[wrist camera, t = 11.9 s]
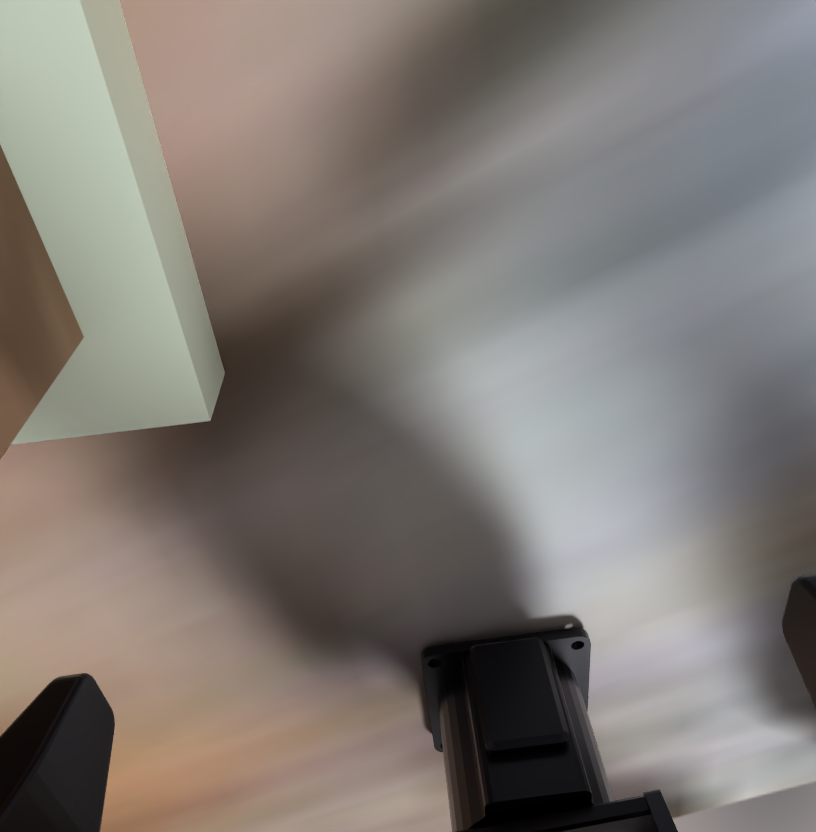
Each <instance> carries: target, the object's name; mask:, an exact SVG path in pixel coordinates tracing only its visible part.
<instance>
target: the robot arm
mask: <svg viewBox="0 0 816 832" xmlns="http://www.w3.org/2000/svg"><path fill="white" fill-rule="evenodd" d="M782 627H783V632H784V636H785V638H786V641H787V643H788V646H789V648H790V650H791V653H792V655H793V657H794V660H795V662H796V664H797V667H798V669H799V671H800V673H801V676H802V678H803V680H804V683H805V685H806V687H807V690H808V692H809V694H810V697H811V699H812V701H813V704H814V706H815V708H816V574H809V575H802V576H798V577H796V578H795V579H794V580H793V581H792V583H791V586H790V590H789V594H788V598H787V602H786V606H785V610H784V614H783V619H782ZM590 648H591V643H590V639H589V637H588V634H587V632H586V631H585V630H584V629H581V628H574V629H566V630H558V631H550V632H542V633H534V634H526V635H518V636H510V637H502V638H495V639H487V640H479V641H471V642H463V643H455V644H447V645H439V646H432V647H428V648H426V649H424V650H423V651H422V653H421V664H422V671H423V677H424V684H425V690H426V696H427V703H428V709H429V716H430V722H431V728H432V735H433V741H434V747H435V749H436V750H437V751H440V752H443V754H444V763H445V772H446V781H447V790H448V799H449V808H450V817H451V825H452V832H678V831H677V829H676V826H675V824H674V822H673V819H672V817H671V815H670V812H669V810H668V808H667V806H666V803H665V801H664V799H663V796H662V794H661V792H660V790H659V789H657V790H652V791H646V792H643V795H642V796H637V797H632V798H627V799H621V800H616V801H614V798H613V794H612V791H611V788H610V785H609V781H608V778H607V775H606V772H605V768H604V765H603V762H602V759H601V755H600V752H599V749H598V746H597V742H596V739H595V736H594V733H593V729H592V726H591V723H590V720H589V716H588V713H587V708H588V688H589V668H590ZM114 727H115V721H114V715H113V711H112V709H111V707H110V705H109V703H108V702H107V700H106V698H105V697H104V695H103V693H102V692H101V690H100V688H99V686H98V685H97V683H96V681H95V680H94V678H93V677H92V676H91V675H89V674H87V673H82V674H74V675H67V676H61V677H58V678H56V679H54V680H53V681H52V682H50V683H49V684H48V685H47V686H46V687H45V689H44V690H43V691H42V692H41V693H40V694H39V695H38V696H37V697H36V698H35V699H34V700H33V701H32V703H31V704H30V705H29V706H28V707H27V708H26V709H25V710H24V711H23V712H22V713H21V714H20V716H19V717H18V718H17V719H16V720H15V721H14V722H13V723H12V724H11V725H10V726H9V727H8V728H7V730H6V731H5V732H4V733H3V734H2V735H1V736H0V832H100V829H101V821H102V814H103V807H104V800H105V793H106V786H107V778H108V771H109V764H110V757H111V750H112V743H113V735H114Z"/></svg>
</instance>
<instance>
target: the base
mask: <svg viewBox="0 0 816 832" xmlns="http://www.w3.org/2000/svg"><path fill="white" fill-rule="evenodd" d="M0 145H1V147H2V150H3V152H4V154H5V157H6V159H7V161H8V163H9V166H10V168H11V170H12V173H13V175H14V177H15V179H16V182H17V184H18V186H19V189H20V191H21V193H22V195H23V198H24V200H25V202H26V205H27V207H28V209H29V211H30V214H31V216H32V218H33V221H34V223H35V225H36V228H37V230H38V232H39V234H40V237H41V239H42V241H43V244H44V246H45V248H46V251H47V253H48V255H49V258H50V260H51V262H52V264H53V267H54V269H55V271H56V274H57V276H58V278H59V281H60V283H61V285H62V288H63V290H64V292H65V294H66V297H67V299H68V301H69V304H70V306H71V308H72V311H73V313H74V315H75V318H76V320H77V322H78V324H79V327H80V329H81V331H82V334H83V336H84V338H83V340H82V341H81V342H80V344H79V345H78V347H77V348H76V350H75V351H74V353H73V354H72V356H71V357H70V358H69V360H68V361H67V363H66V364H65V366H64V367H63V369H62V370H61V372H60V373H59V375H58V376H57V377H56V379H55V380H54V382H53V383H52V385H51V386H50V388H49V389H48V391H47V392H46V393H45V395H44V396H43V398H42V399H41V401H40V402H39V404H38V405H37V407H36V408H35V410H34V411H33V412H32V414H31V415H30V417H29V418H28V420H27V421H26V423H25V424H24V426H23V427H22V428H21V430H20V431H19V433H18V434H17V436H16V437H15V439H14V440H13V442H12V443H11V445H14V444H22V443H30V442H39V441H47V440H55V439H64V438H72V437H81V436H89V435H97V434H106V433H114V432H122V431H131V430H139V429H147V428H156V427H164V426H173V425H181V424H189V423H198V422H206V421H211V418H212V414H213V411H214V408H215V405H216V401H217V398H218V395H219V392H220V388H221V385H222V382H223V379H224V375H225V371H224V368H223V364H222V361H221V357H220V354H219V350H218V347H217V343H216V340H215V336H214V333H213V329H212V326H211V322H210V318H209V315H208V311H207V308H206V304H205V301H204V297H203V294H202V290H201V287H200V283H199V280H198V276H197V273H196V269H195V265H194V262H193V258H192V255H191V251H190V248H189V244H188V241H187V237H186V234H185V230H184V227H183V223H182V220H181V216H180V212H179V209H178V205H177V202H176V198H175V195H174V191H173V188H172V184H171V181H170V177H169V174H168V170H167V166H166V163H165V159H164V156H163V152H162V149H161V145H160V142H159V138H158V135H157V131H156V128H155V124H154V121H153V117H152V113H151V110H150V106H149V103H148V99H147V96H146V92H145V89H144V85H143V82H142V78H141V75H140V71H139V68H138V64H137V60H136V57H135V53H134V50H133V46H132V43H131V39H130V36H129V32H128V29H127V25H126V22H125V18H124V15H123V11H122V7H121V4H120V0H0Z"/></svg>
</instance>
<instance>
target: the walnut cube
mask: <svg viewBox="0 0 816 832" xmlns="http://www.w3.org/2000/svg"><path fill="white" fill-rule="evenodd" d="M83 338H84V336H83V334H82V331H81V329H80V327H79V324H78V322H77V320H76V318H75V315H74V313H73V311H72V308H71V306H70V304H69V301H68V299H67V297H66V294H65V292H64V290H63V288H62V285H61V283H60V281H59V278H58V276H57V274H56V271H55V269H54V267H53V264H52V262H51V260H50V258H49V255H48V253H47V251H46V248H45V246H44V244H43V241H42V239H41V237H40V234H39V232H38V230H37V228H36V225H35V223H34V221H33V218H32V216H31V214H30V211H29V209H28V207H27V205H26V202H25V200H24V198H23V195H22V193H21V191H20V189H19V186H18V184H17V182H16V179H15V177H14V175H13V173H12V170H11V168H10V166H9V163H8V161H7V159H6V157H5V154H4V152H3V150H2V147H1V145H0V459H1V458H2V456H3V455H4V453H5V452H6V450H7V449H8V447H9V446H10V445H11V443H12V442H13V440H14V439H15V437H16V436H17V434H18V433H19V431H20V430H21V428H22V427H23V426H24V424H25V423H26V421H27V420H28V418H29V417H30V415H31V414H32V412H33V411H34V410H35V408H36V407H37V405H38V404H39V402H40V401H41V399H42V398H43V396H44V395H45V393H46V392H47V391H48V389H49V388H50V386H51V385H52V383H53V382H54V380H55V379H56V377H57V376H58V375H59V373H60V372H61V370H62V369H63V367H64V366H65V364H66V363H67V361H68V360H69V358H70V357H71V356H72V354H73V353H74V351H75V350H76V348H77V347H78V345H79V344H80V342H81V341H82V340H83Z"/></svg>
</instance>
